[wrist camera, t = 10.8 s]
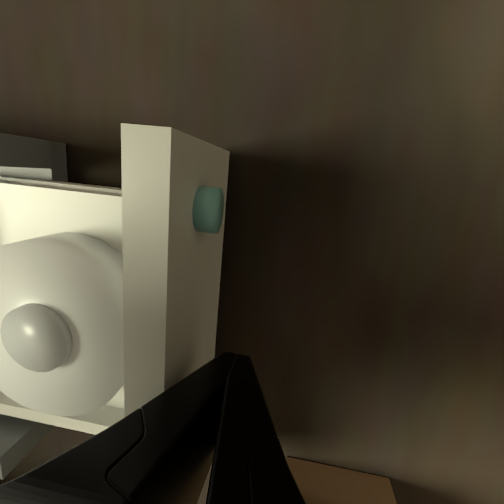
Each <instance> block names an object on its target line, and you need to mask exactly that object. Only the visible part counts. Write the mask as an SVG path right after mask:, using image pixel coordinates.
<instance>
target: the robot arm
mask: <svg viewBox="0 0 504 504" xmlns="http://www.w3.org/2000/svg"><path fill="white" fill-rule="evenodd" d="M212 461H213V462H212ZM211 463H212V468H211V474H210V481H209V487H208V493H207V499H206V504H306V502H305V500H304V498H303V496H302V494H301V492H300V490H299V488H298V486H297V484H296V481H295V479H294V477H293V475H292V473H291V471H290V468H289V466H288V463H287V461H286V458H285V455H284V453H283V450H282V447H281V444H280V441H279V439H278V438H277V433H276V430H275V427H274V424H273V422H272V419H271V416H270V413H269V410H268V407H267V404H266V401H265V398H264V395H263V393H262V390H261V387H260V384H259V381H258V378H257V375H256V372H255V369H254V366H253V363H252V361H251V358H250V356H247V355H241V354H235V353H230V352H223V353H221V354H220V355H218V356H217V357H215V358H214V359H212V360H211V361H209V362H208V363H206V364H205V365H203V366H202V367H200V368H199V369H197V370H196V371H194V372H193V373H191V374H190V375H188V376H187V377H185V378H183V379H182V380H180V381H179V382H177V383H176V384H174V385H173V386H171V387H170V388H168V389H167V390H165V391H164V392H162V393H161V394H159V395H158V396H156V397H155V398H153V399H152V400H150V401H149V402H147V403H146V404H144V405H143V406H141V408H138V409H137V410H135V411H133V412H132V413H130V414H129V415H127V416H126V417H124V418H123V419H121V420H120V421H118V422H116V423H115V424H113V425H112V426H110V427H108V428H107V429H105V430H103V431H101V432H100V433H98V434H96V435H94V436H93V437H91V438H89V439H87V440H86V441H84V442H82V443H80V444H78V445H77V446H75V447H73V448H71V449H69V450H67V451H65V452H64V453H62V454H60V455H58V456H56V457H54V458H53V459H51V460H49V461H47V462H45V463H43V464H42V465H40V466H38V467H36V468H34V469H32V470H30V471H29V472H27V473H25V474H23V475H21V476H19V477H17V478H15V479H13V480H11V481H9V482H6V483H4V484H2V485H0V504H197V501H198V498H199V496H200V493H201V490H202V488H203V485H204V482H205V480H206V477H207V474H208V472H209V469H210V466H211Z"/></svg>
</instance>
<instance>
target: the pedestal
mask: <svg viewBox="0 0 504 504" xmlns="http://www.w3.org/2000/svg"><path fill="white" fill-rule="evenodd" d="M286 461H287V463H288V466H289V468H290V471H291V473H292V475H293V477H294V479H295V481H296V484H297V486H298V488H299V490H300V492H301V494H302V496H303V498H304V500H305V502H306V504H397V503H396V500H395V496H394V493H393V490H392V487H391V483H390V480H389V478H386V477H381V476H377V475H372V474H367V473H362V472H358V471H353V470H348V469H343V468H338V467H334V466H329V465H324V464H319V463H315V462H310V461H305V460H300V459H296V458H291V457H286Z"/></svg>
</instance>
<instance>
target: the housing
mask: <svg viewBox="0 0 504 504" xmlns="http://www.w3.org/2000/svg"><path fill="white" fill-rule="evenodd" d="M0 175H7V176H16V177H25V178H34V179H43V180H52V181H61V182H68V176H67V158H66V143H62V142H56V141H50V140H43V139H37V138H31V137H24V136H18V135H12V134H5V133H0ZM54 427H55V426H54V425H49V424H44V423H40V422H35V421H31V420H26V419H21V418H17V417H12V416H8V415H3V414H0V479H2V480H3V479H4V478H5V477H6V476H7V475H8V474H9V473H10V472H11V471H12V470H13V469H14V468H15V467H16V466H17V465H18V464H19V463H20V462H21V461H22V460H23V459H24V458H25V457H26V455H27V454H28V453H29V452H30V451H31V450H32V449H33V448H34V447H35V446H36V445H37V444H38V443H39V442H40V441H41V440H42V439H43V438H44V437H45V436H46V435H47V434H48V433H49V432H50V431H51V430H52V429H53V428H54Z"/></svg>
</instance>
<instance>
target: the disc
mask: <svg viewBox="0 0 504 504" xmlns="http://www.w3.org/2000/svg"><path fill="white" fill-rule="evenodd" d="M123 385H124V334H123V255H122V254H121V253H120V252H119V251H118V250H116V249H115V248H113V247H112V246H110V245H109V244H107V243H105V242H103V241H101V240H99V239H97V238H94V237H91V236H88V235H84V234H79V233H71V232H63V233H54V234H50V235H45V236H41V237H36V238H32V239H27V240H23V241H18V242H14V243H9V244H5V245H0V391H1V392H2V393H4V394H5V395H6V396H8V397H9V398H11V399H12V400H14V401H15V402H17V403H19V404H21V405H23V406H25V407H27V408H29V409H32V410H34V411H37V412H41V413H44V414H48V415H54V416H78V415H82V414H86V413H89V412H92V411H94V410H97V409H98V408H100V407H102V406H103V405H105V404H106V403H107V402H108V401H110V400H111V399H112V398H113V397H114V396H115V394H116V393H117V392H118V391H119V390H120V388H121V387H122V386H123Z"/></svg>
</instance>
